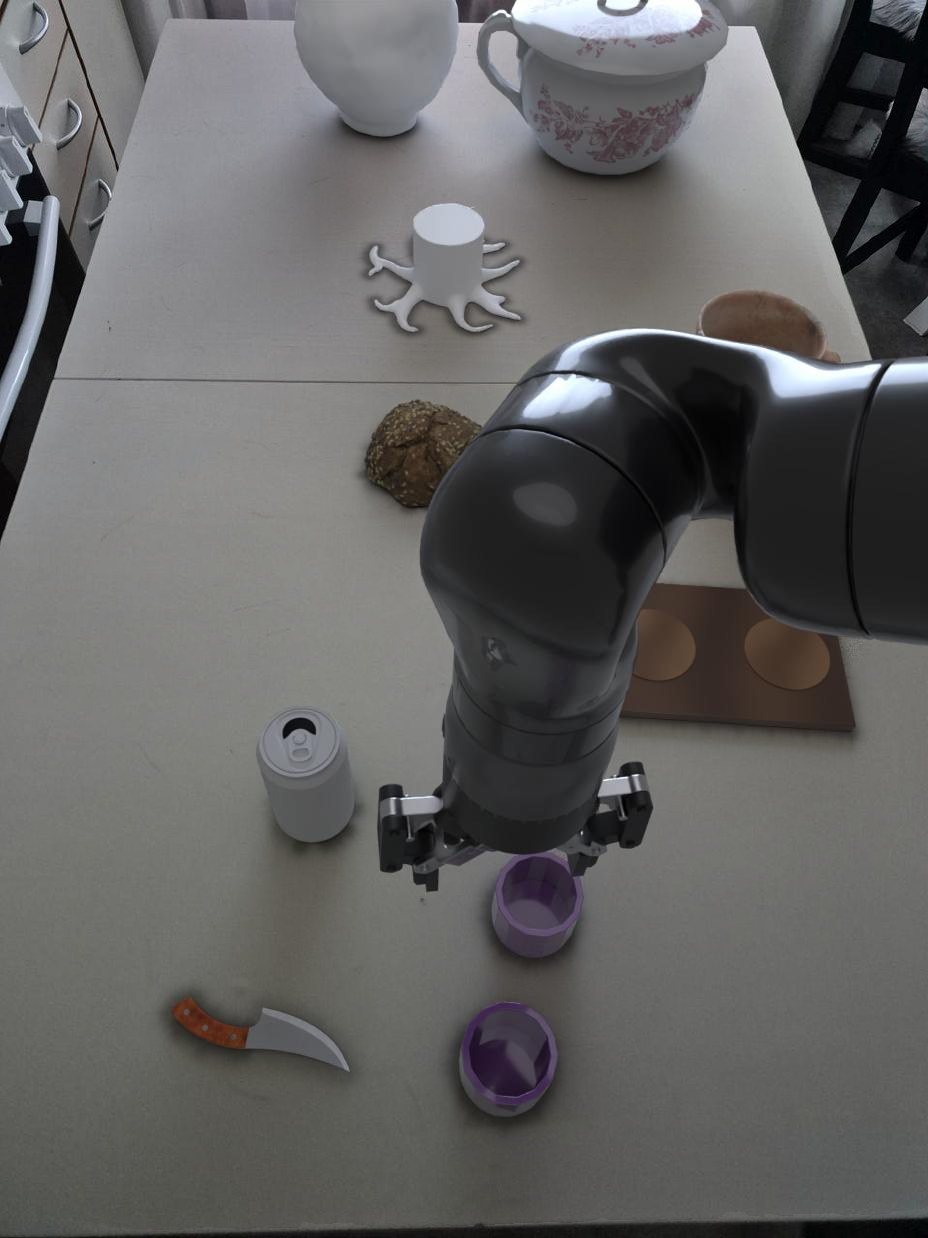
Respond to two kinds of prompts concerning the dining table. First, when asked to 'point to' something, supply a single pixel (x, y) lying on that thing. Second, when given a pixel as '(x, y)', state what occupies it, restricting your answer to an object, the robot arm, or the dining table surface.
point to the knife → (262, 1033)
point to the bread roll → (417, 449)
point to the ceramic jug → (765, 323)
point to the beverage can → (306, 772)
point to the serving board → (733, 664)
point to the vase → (377, 57)
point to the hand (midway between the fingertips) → (502, 868)
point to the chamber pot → (607, 75)
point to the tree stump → (446, 265)
